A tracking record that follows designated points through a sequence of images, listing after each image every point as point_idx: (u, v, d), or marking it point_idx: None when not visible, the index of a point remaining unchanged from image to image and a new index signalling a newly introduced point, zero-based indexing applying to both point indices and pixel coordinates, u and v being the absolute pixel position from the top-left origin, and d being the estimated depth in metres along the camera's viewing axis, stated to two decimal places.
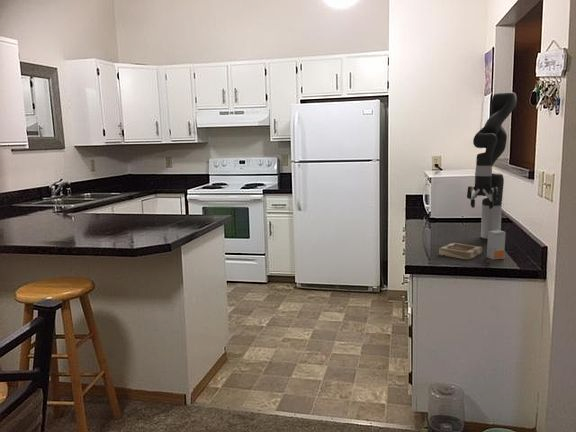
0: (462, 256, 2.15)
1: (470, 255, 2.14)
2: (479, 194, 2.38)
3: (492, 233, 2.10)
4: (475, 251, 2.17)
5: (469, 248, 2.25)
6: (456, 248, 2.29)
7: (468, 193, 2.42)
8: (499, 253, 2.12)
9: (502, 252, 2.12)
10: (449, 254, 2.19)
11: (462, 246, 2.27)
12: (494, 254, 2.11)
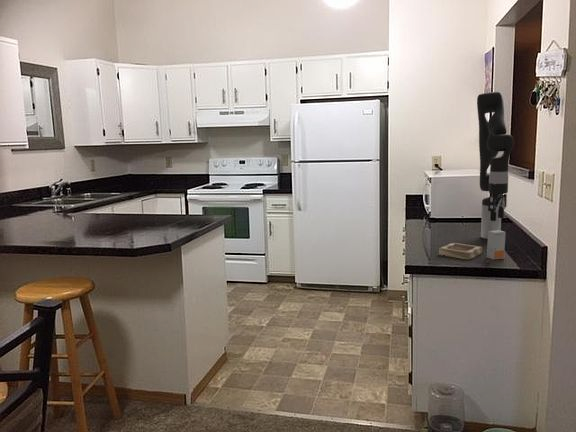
0: (462, 256, 2.15)
1: (470, 255, 2.14)
2: None
3: (492, 233, 2.10)
4: (475, 251, 2.17)
5: (469, 248, 2.25)
6: (456, 248, 2.29)
7: (494, 205, 2.04)
8: (499, 253, 2.12)
9: (502, 252, 2.12)
10: (449, 254, 2.19)
11: (462, 246, 2.27)
12: (494, 254, 2.11)
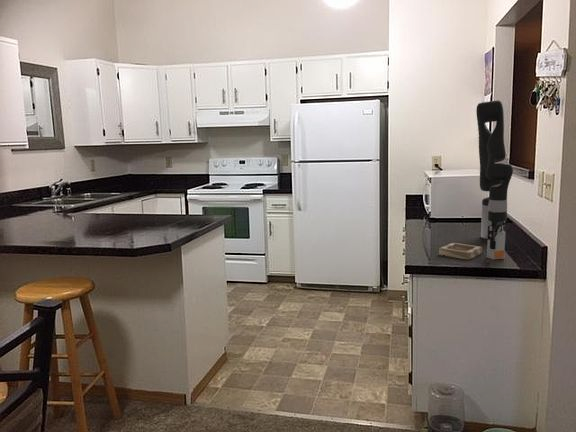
0: (462, 256, 2.15)
1: (470, 255, 2.14)
2: None
3: None
4: (475, 251, 2.17)
5: (469, 248, 2.25)
6: (456, 248, 2.29)
7: (493, 234, 2.07)
8: (499, 253, 2.12)
9: (502, 252, 2.12)
10: (449, 254, 2.19)
11: (462, 246, 2.27)
12: (494, 254, 2.11)
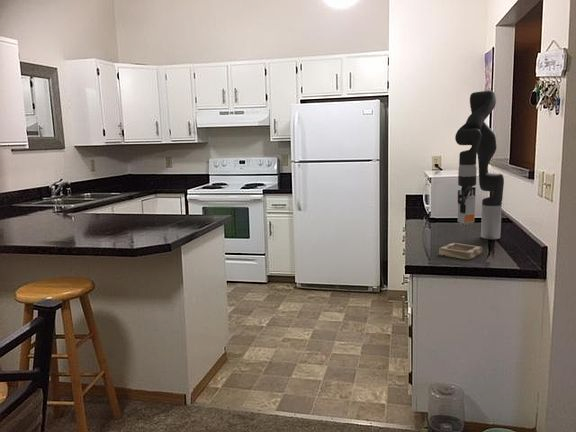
0: (462, 256, 2.15)
1: (470, 255, 2.14)
2: None
3: None
4: (475, 251, 2.17)
5: (469, 248, 2.25)
6: (456, 248, 2.29)
7: (463, 198, 2.12)
8: (469, 217, 2.17)
9: (472, 216, 2.17)
10: (449, 254, 2.19)
11: (462, 246, 2.27)
12: (464, 218, 2.16)
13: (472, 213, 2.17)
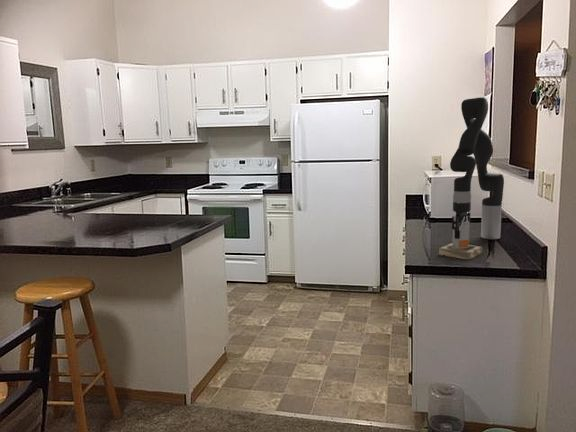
0: (462, 256, 2.15)
1: (470, 255, 2.14)
2: (462, 222, 2.19)
3: None
4: (475, 251, 2.17)
5: (469, 248, 2.25)
6: (456, 248, 2.29)
7: (457, 224, 2.15)
8: (463, 242, 2.20)
9: (466, 241, 2.20)
10: (449, 254, 2.19)
11: None
12: (459, 243, 2.19)
13: (466, 238, 2.20)
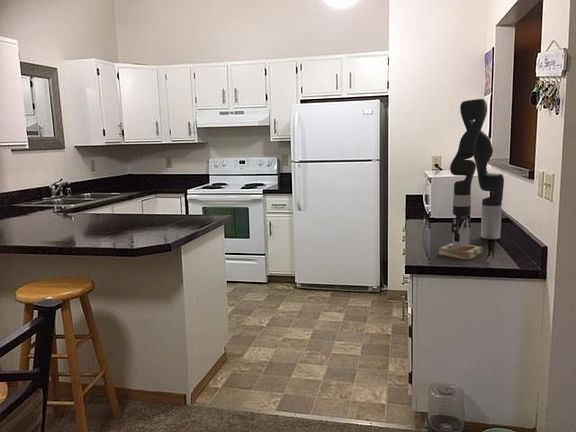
0: (462, 256, 2.15)
1: (470, 255, 2.14)
2: (462, 225, 2.19)
3: None
4: (475, 251, 2.17)
5: (469, 248, 2.25)
6: None
7: (457, 227, 2.15)
8: (464, 249, 2.21)
9: (467, 248, 2.21)
10: (449, 254, 2.19)
11: None
12: None
13: (466, 245, 2.21)
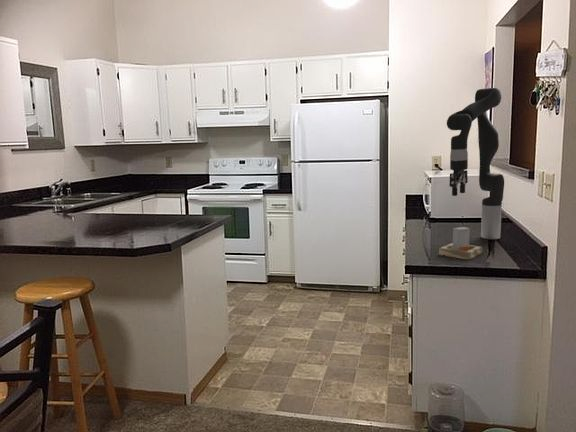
0: (462, 256, 2.15)
1: (470, 255, 2.14)
2: (460, 180, 2.22)
3: (457, 230, 2.19)
4: (475, 251, 2.17)
5: (469, 248, 2.25)
6: None
7: (455, 181, 2.18)
8: (464, 249, 2.21)
9: (467, 248, 2.21)
10: (449, 254, 2.19)
11: None
12: None
13: (466, 245, 2.21)
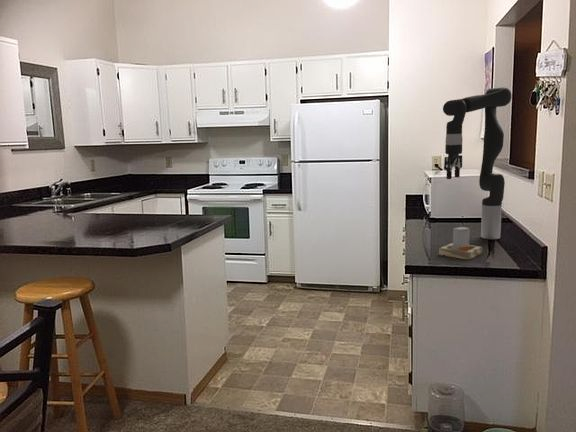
0: (462, 256, 2.15)
1: (470, 255, 2.14)
2: (454, 164, 2.30)
3: (457, 230, 2.19)
4: (475, 251, 2.17)
5: (469, 248, 2.25)
6: None
7: (449, 164, 2.26)
8: (464, 249, 2.21)
9: (467, 248, 2.21)
10: (449, 254, 2.19)
11: None
12: None
13: (466, 245, 2.21)
